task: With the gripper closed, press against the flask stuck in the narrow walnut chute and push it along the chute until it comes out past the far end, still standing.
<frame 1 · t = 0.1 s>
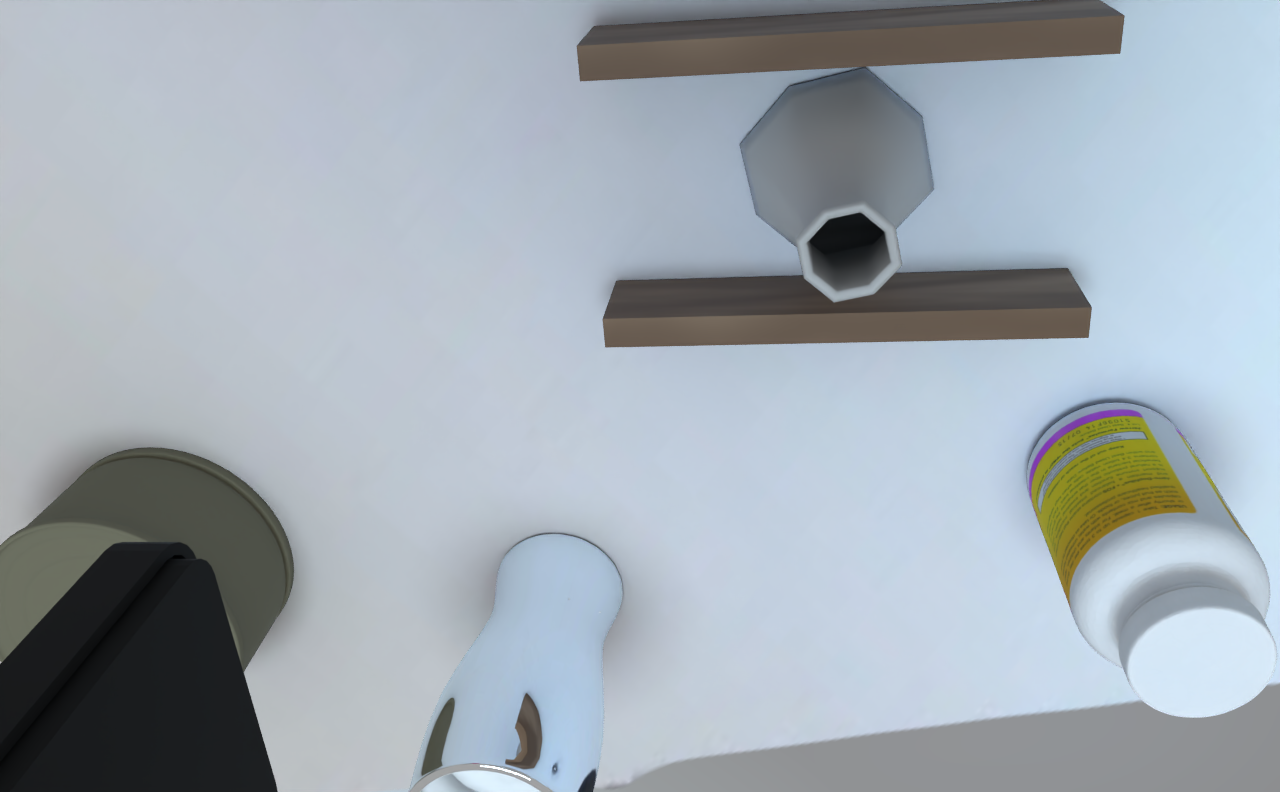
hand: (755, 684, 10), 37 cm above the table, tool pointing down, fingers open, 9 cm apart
beer glass: (561, 582, 55), on the table
chute: (836, 165, 44), on the table
supplement bottle: (1103, 463, 49), on the table
can: (182, 546, 57), on the table
flask: (836, 163, 45), on the table
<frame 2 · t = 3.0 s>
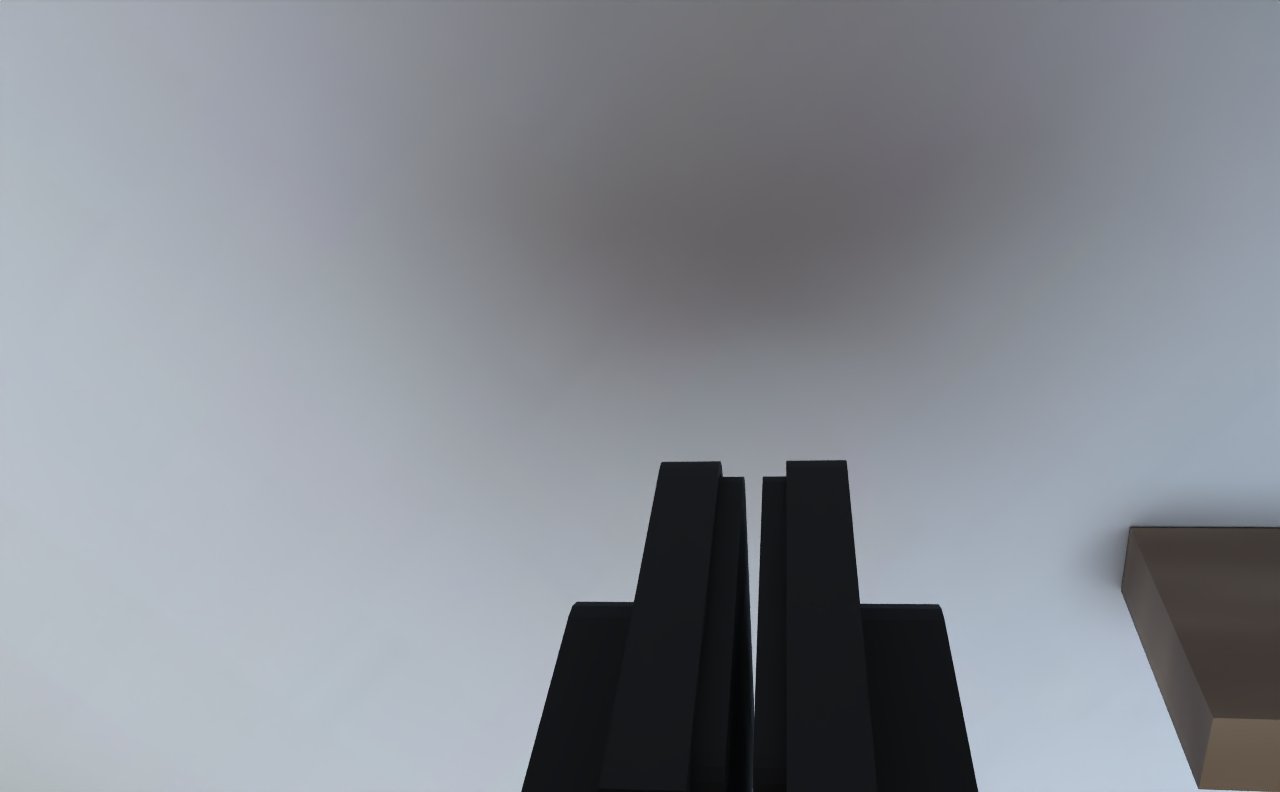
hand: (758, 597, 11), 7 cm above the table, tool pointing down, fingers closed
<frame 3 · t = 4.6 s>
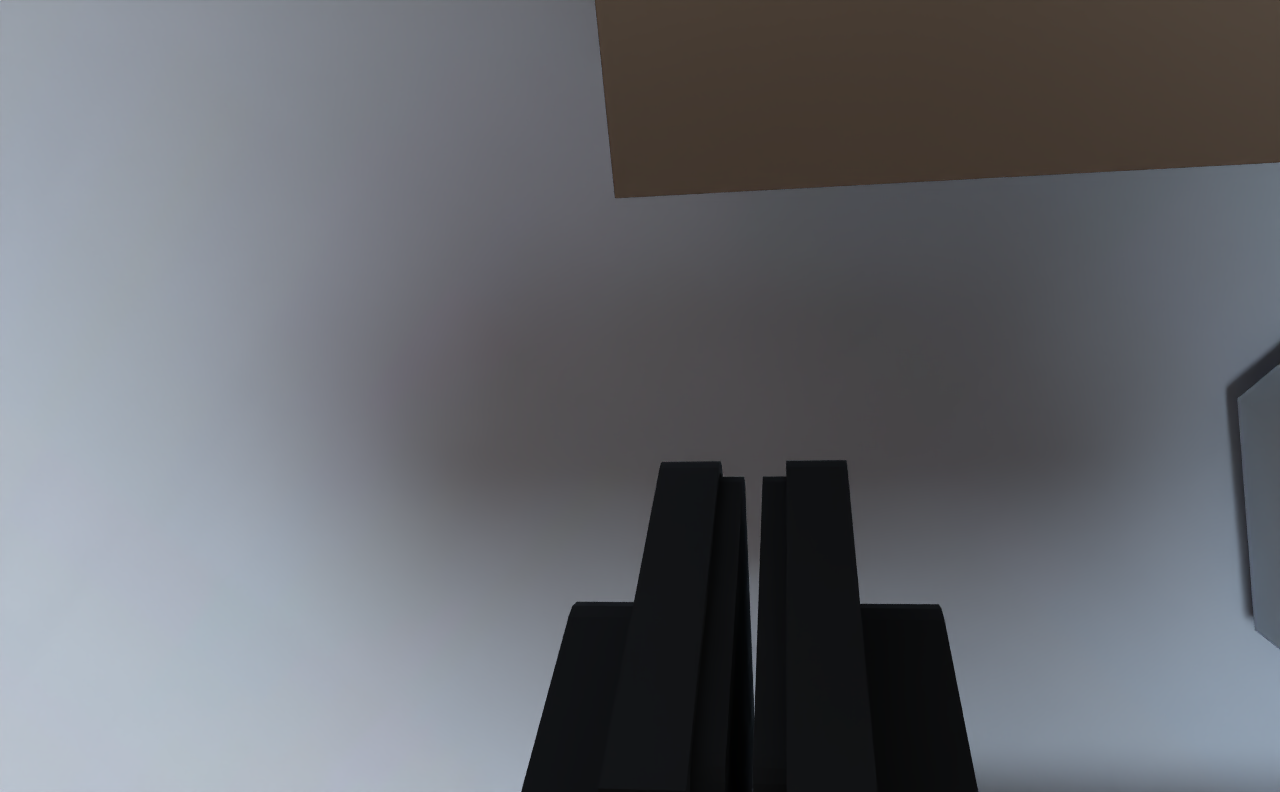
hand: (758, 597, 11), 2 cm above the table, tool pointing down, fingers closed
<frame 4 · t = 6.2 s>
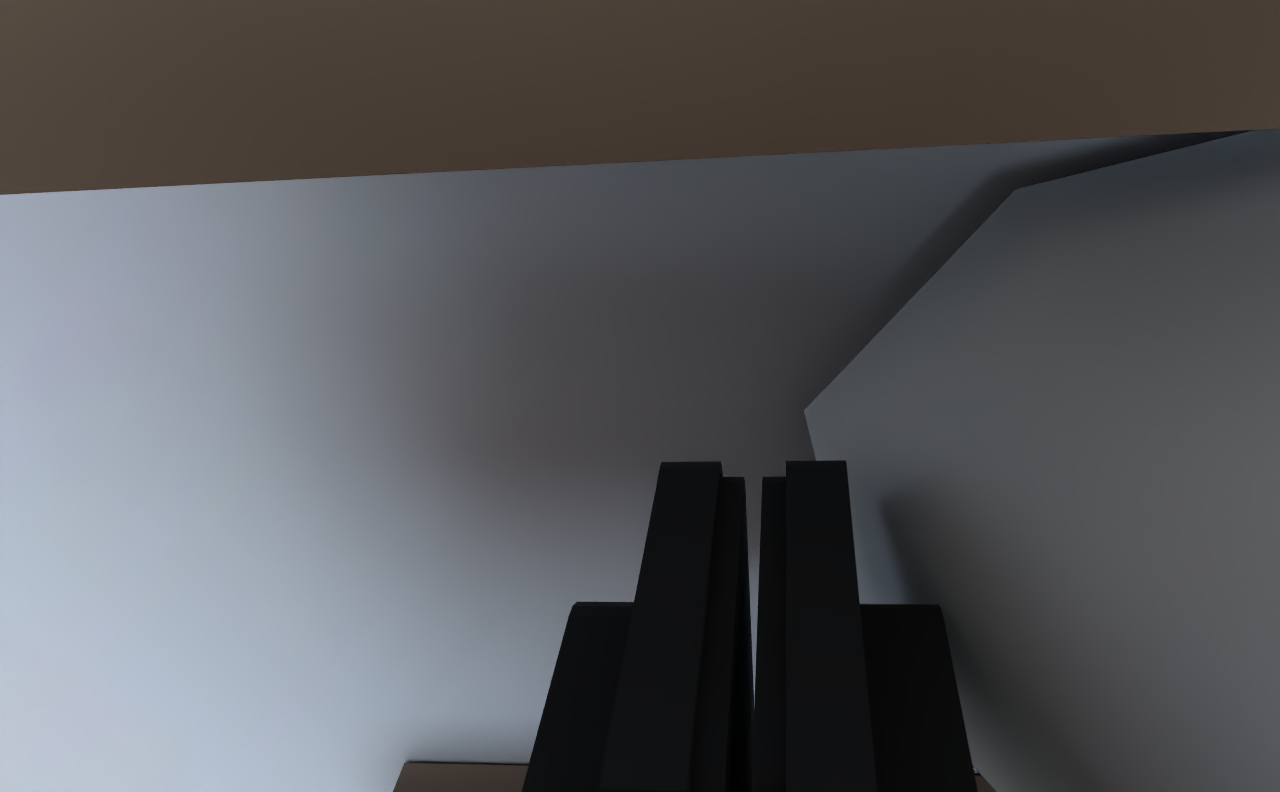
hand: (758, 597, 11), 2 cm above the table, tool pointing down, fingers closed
chute: (1160, 458, 12), on the table
flask: (1160, 458, 12), on the table, touching gripper
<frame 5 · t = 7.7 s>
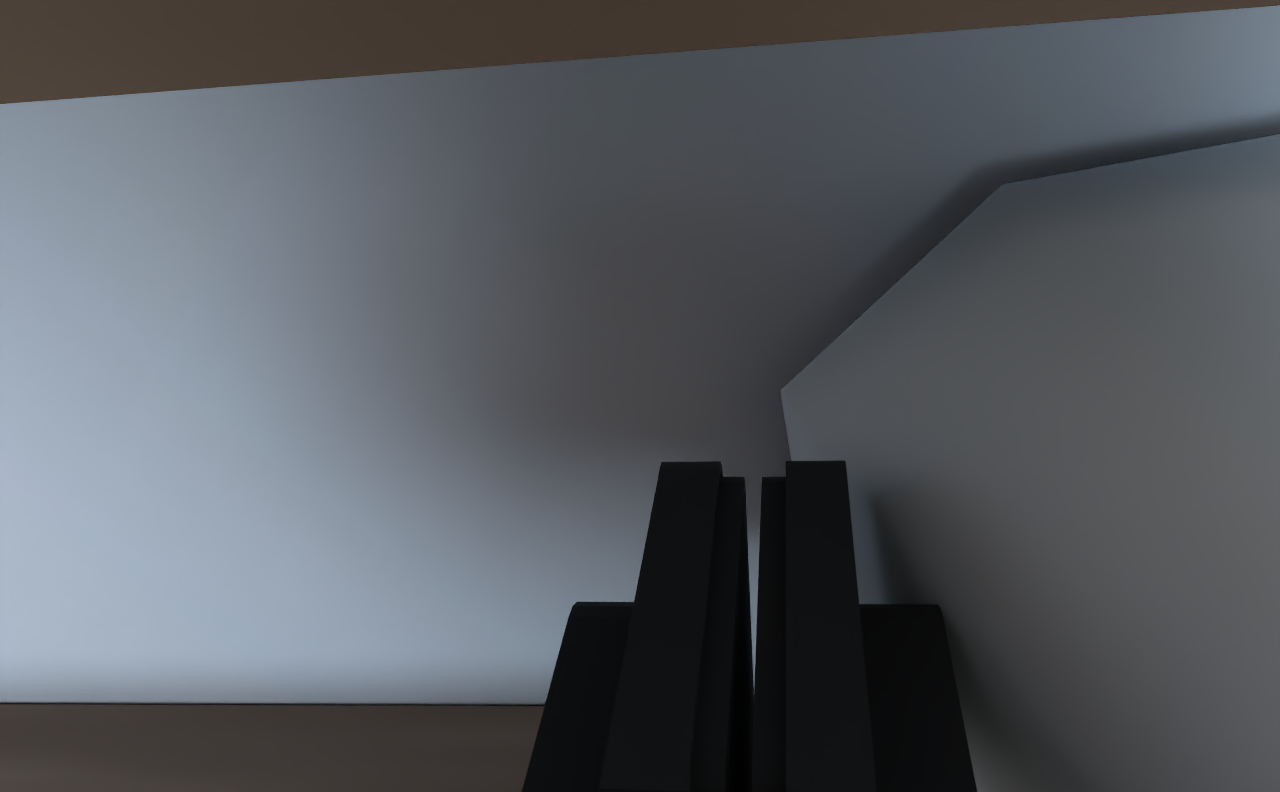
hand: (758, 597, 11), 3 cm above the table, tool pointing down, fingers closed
chute: (441, 406, 13), on the table
flask: (1115, 457, 12), on the table, touching gripper
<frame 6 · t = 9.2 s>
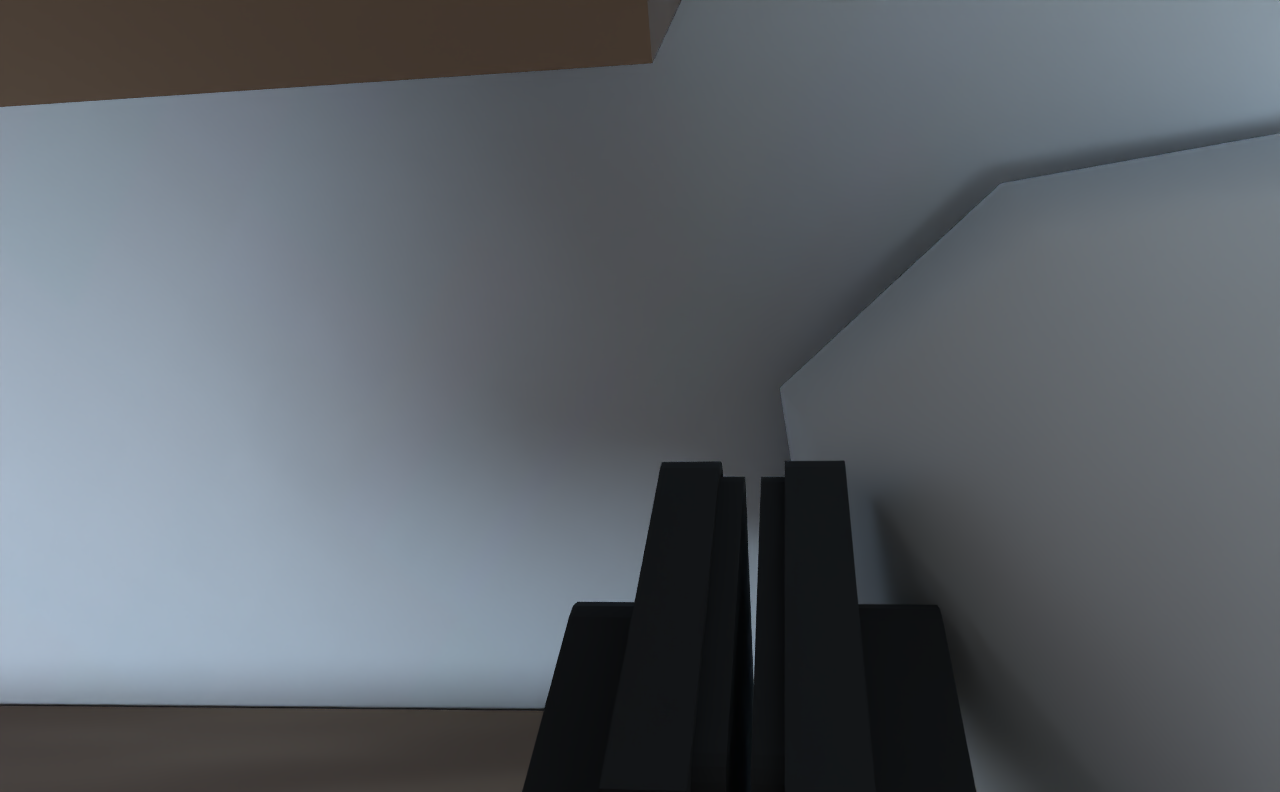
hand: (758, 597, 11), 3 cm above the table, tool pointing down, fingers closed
flask: (1113, 456, 12), on the table, touching gripper
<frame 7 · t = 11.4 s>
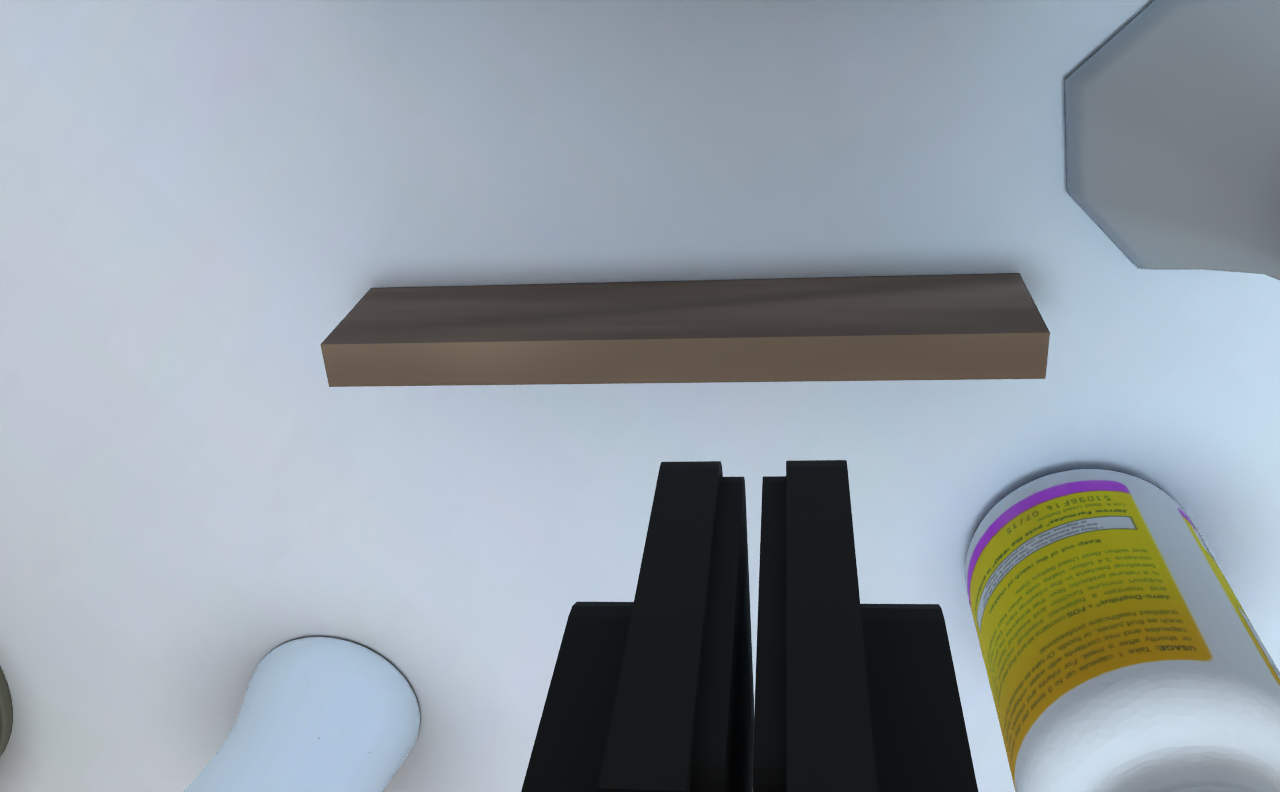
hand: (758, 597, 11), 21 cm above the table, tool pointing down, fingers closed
beer glass: (338, 700, 40), on the table
chute: (674, 118, 30), on the table
supplement bottle: (1074, 552, 34), on the table
flask: (1205, 123, 29), on the table
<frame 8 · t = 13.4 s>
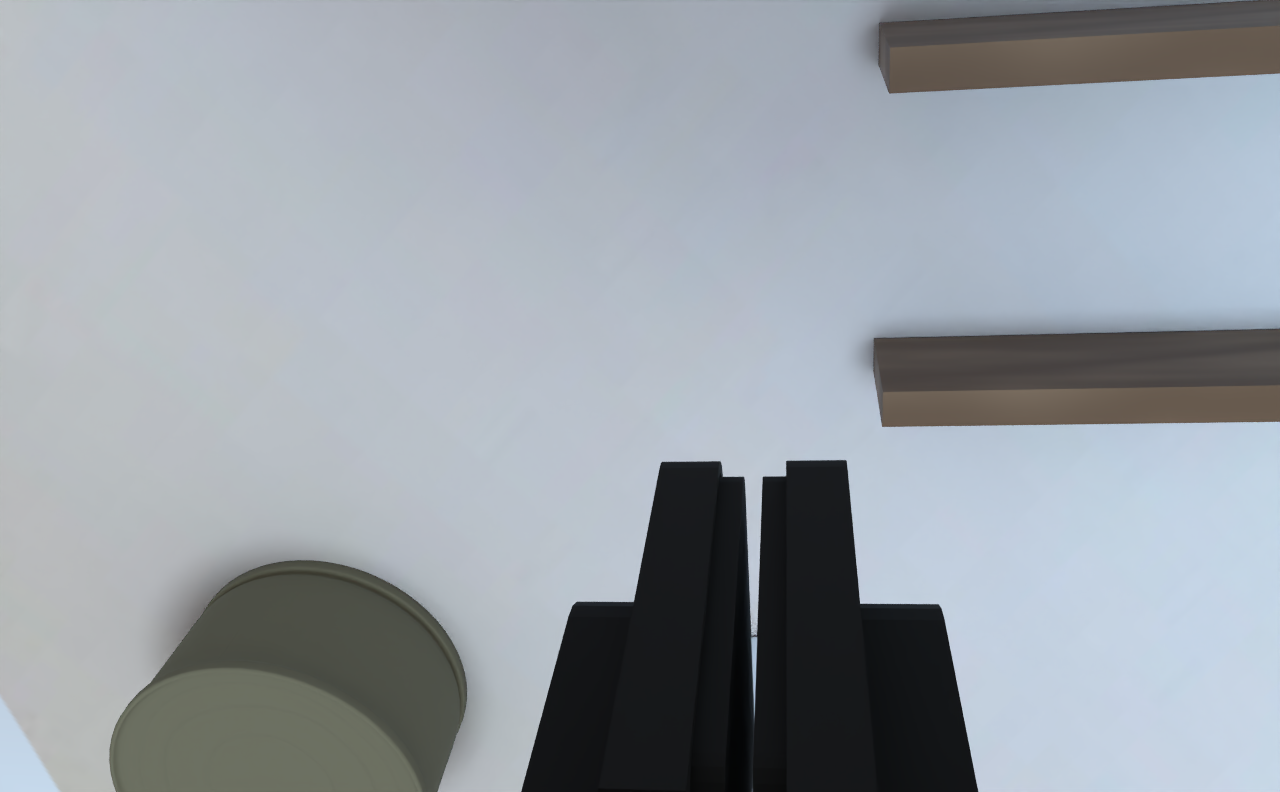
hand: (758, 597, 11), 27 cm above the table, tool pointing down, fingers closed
chute: (1174, 197, 35), on the table
can: (333, 670, 48), on the table
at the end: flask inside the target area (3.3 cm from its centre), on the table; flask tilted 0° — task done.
